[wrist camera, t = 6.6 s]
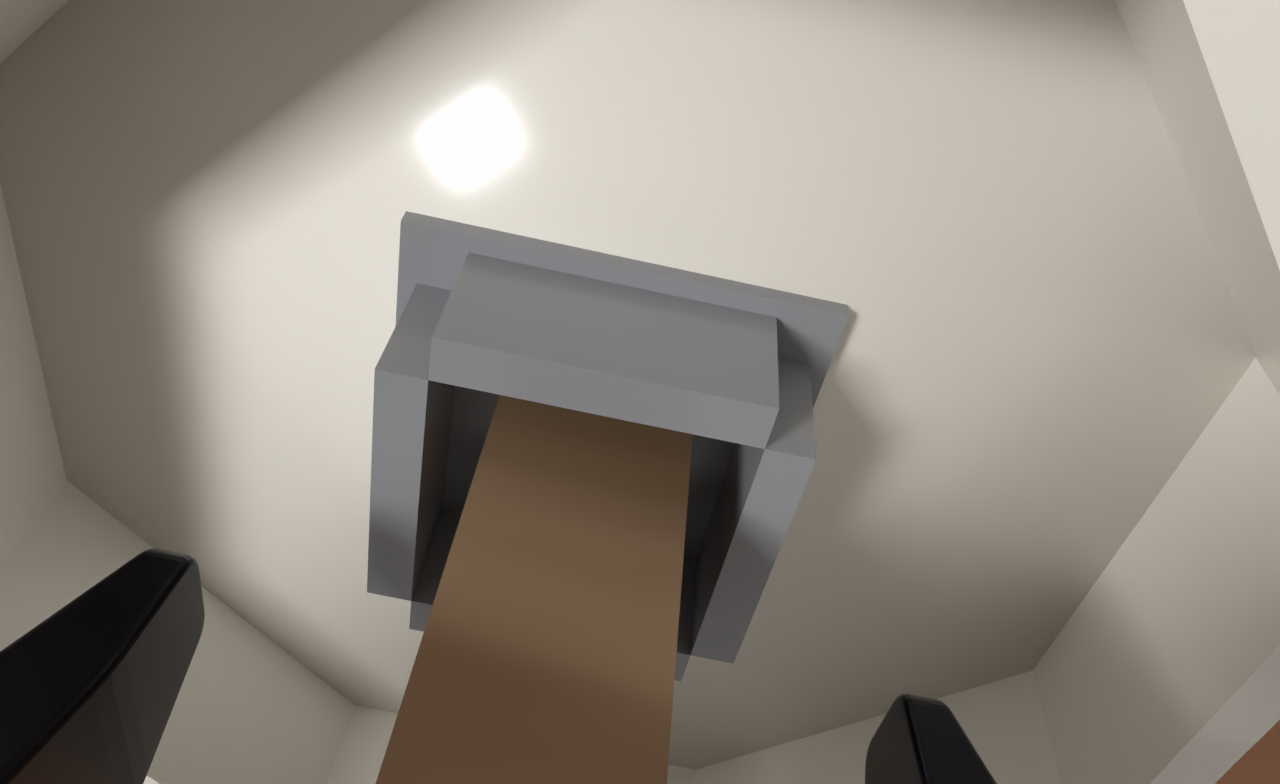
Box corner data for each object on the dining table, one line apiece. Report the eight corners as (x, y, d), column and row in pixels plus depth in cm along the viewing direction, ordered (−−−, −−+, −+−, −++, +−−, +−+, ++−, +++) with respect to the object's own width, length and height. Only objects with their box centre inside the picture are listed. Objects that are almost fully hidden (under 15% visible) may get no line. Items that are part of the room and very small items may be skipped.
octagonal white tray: (947, 804, 17) (980, 1014, 15) (92, 643, 16) (-28, 833, 14) (1603, -100, 8) (1975, 36, 6) (-181, -528, 8) (-644, -587, 5)
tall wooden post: (657, 512, 12) (557, 1466, 6) (494, 478, 12) (217, 1414, 6) (697, 385, 11) (618, 1418, 5) (515, 345, 11) (193, 1349, 5)
